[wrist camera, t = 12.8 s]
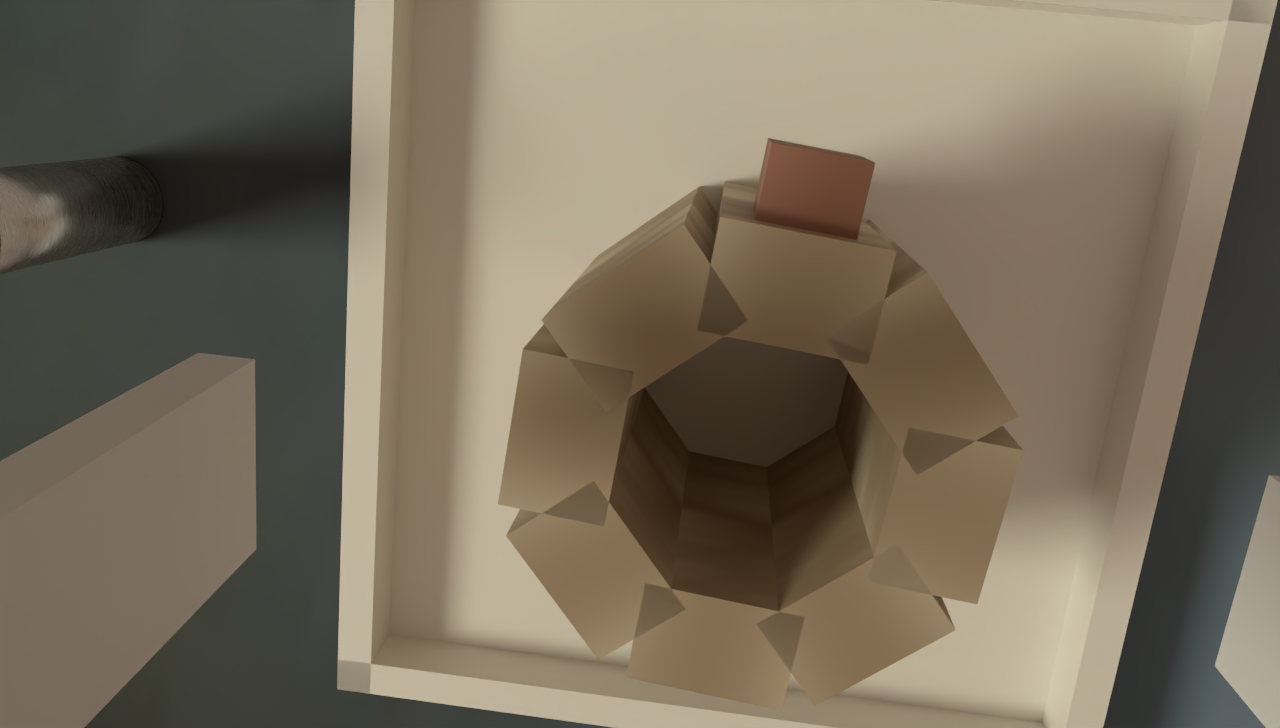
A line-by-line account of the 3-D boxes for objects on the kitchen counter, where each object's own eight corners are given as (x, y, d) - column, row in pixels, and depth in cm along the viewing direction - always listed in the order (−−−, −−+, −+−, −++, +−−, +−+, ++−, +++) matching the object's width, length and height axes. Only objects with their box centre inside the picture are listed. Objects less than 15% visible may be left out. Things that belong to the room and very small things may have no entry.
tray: (390, -88, 22) (357, -105, 20) (1233, -10, 21) (1282, -21, 19) (365, 646, 27) (337, 689, 25) (1060, 741, 26) (1087, 793, 24)
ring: (546, 495, 25) (474, 645, 18) (614, 101, 22) (562, 103, 16) (880, 564, 24) (935, 744, 18) (985, 173, 22) (1095, 206, 15)
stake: (66, 137, 24) (-182, 153, 18) (174, 149, 24) (-37, 169, 18) (71, 249, 25) (-168, 303, 18) (176, 261, 25) (-26, 319, 18)
